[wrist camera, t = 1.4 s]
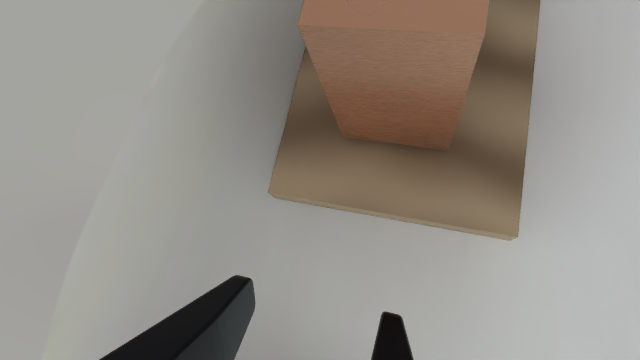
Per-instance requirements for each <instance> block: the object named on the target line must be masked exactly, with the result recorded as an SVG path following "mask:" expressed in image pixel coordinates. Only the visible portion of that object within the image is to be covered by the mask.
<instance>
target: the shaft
mask: <svg viewBox="0 0 640 360" xmlns="http://www.w3.org/2000/svg"><path fill="white" fill-rule="evenodd" d="M488 7H489V0H304V3H303V6H302V10H301V14H300V17H299V21H298V28H299V30H300V33H301V35H302V37H303V40H304V42H305V45H306V47H307V50H308V52H309V55H310V57H311V60H312V62H313V64H314V67H315V69H316V72H317V74H318V77H319V79H320V82H321V84H322V87H323V89H324V92H325V94H326V96H327V99H328V101H329V104H330V106H331V109H332V111H333V114H334V116H335V119H336V121H337V124H338V126H339V128H340V131H341V133H342V136H343V137H346V138H354V139H362V140H370V141H378V142H386V143H393V144H401V145H409V146H417V147H425V148H433V149H441V150H448V149H449V146H450V143H451V140H452V137H453V133H454V130H455V127H456V124H457V121H458V118H459V114H460V111H461V108H462V105H463V102H464V99H465V95H466V92H467V89H468V86H469V83H470V80H471V76H472V73H473V70H474V67H475V64H476V61H477V57H478V54H479V51H480V48H481V45H482V42H483V38H484V35H485V30H486V22H487V15H488Z"/></svg>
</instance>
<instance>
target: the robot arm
mask: <svg viewBox="0 0 640 360" xmlns="http://www.w3.org/2000/svg"><path fill="white" fill-rule="evenodd" d="M254 309H255V295H254V287H253V281H252V280H251V279H250V278H248V277H243V276H239V275H235V276H233V277H231V278H229V279H228V280H226V281H225V282H223V283H221V284H220V285H218V286H217V287H215V288H213V289H212V290H210V291H209V292H207V293H205V294H204V295H202V296H201V297H199V298H197V299H196V300H194V301H193V302H191V303H189V304H188V305H186V306H185V307H183V308H181V309H180V310H178V311H176V312H175V313H173V314H172V315H170V316H168V317H167V318H165V319H164V320H162V321H160V322H159V323H157V324H156V325H154V326H152V327H151V328H149V329H148V330H146V331H144V332H143V333H141V334H140V335H138V336H136V337H135V338H133V339H132V340H130V341H128V342H127V343H125V344H124V345H122V346H120V347H119V348H117V349H116V350H114V351H112V352H111V353H109V354H108V355H106V356H104V357H103V358H101V359H99V360H234V359H235V356H236V354H237V351H238V349H239V346H240V344H241V342H242V339H243V337H244V334H245V332H246V330H247V327H248V325H249V322H250V320H251V317H252V315H253V312H254ZM371 360H414V359H413V356H412V352H411V348H410V345H409V341H408V337H407V334H406V330H405V326H404V323H403V319H402V317H401V316H400V315H397V314H393V313H389V312H383V313H382V315H381V319H380V323H379V327H378V332H377V336H376V340H375V345H374V349H373V353H372V358H371Z"/></svg>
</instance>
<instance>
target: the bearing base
mask: <svg viewBox="0 0 640 360" xmlns="http://www.w3.org/2000/svg"><path fill="white" fill-rule="evenodd" d="M539 9H540V0H489V7H488V15H487V22H486V30H485V35H484V38H483V42H482V45H481V48H480V51H479V54H478V57H477V61H476V64H475V67H474V70H473V73H472V76H471V80H470V83H469V86H468V89H467V92H466V95H465V99H464V102H463V105H462V108H461V111H460V114H459V118H458V121H457V124H456V127H455V130H454V133H453V137H452V140H451V143H450V146H449V149H448V150H441V149H433V148H425V147H417V146H409V145H401V144H393V143H386V142H378V141H370V140H362V139H354V138H346V137H343V136H342V133H341V131H340V128H339V126H338V124H337V121H336V119H335V116H334V114H333V111H332V109H331V106H330V104H329V101H328V99H327V96H326V94H325V92H324V89H323V87H322V84H321V82H320V79H319V77H318V74H317V72H316V69H315V67H314V64H313V62H312V60H311V57H310V55H309V52H308V50H307V47H305V51H304V55H303V59H302V62H301V66H300V70H299V74H298V78H297V82H296V86H295V89H294V93H293V97H292V101H291V105H290V109H289V112H288V116H287V120H286V124H285V128H284V132H283V136H282V139H281V143H280V147H279V151H278V155H277V159H276V163H275V166H274V170H273V174H272V178H271V182H270V186H269V190H268V193H269V194H271V195H272V196H273V197H275V198H278V199H283V200H289V201H295V202H300V203H306V204H311V205H317V206H322V207H328V208H333V209H339V210H344V211H350V212H355V213H361V214H366V215H372V216H378V217H383V218H389V219H394V220H400V221H405V222H411V223H416V224H422V225H427V226H433V227H438V228H444V229H449V230H455V231H461V232H466V233H472V234H477V235H483V236H488V237H494V238H499V239H505V240H512V239H514V238H516V237H518V230H519V219H520V209H521V198H522V188H523V177H524V167H525V156H526V146H527V135H528V125H529V114H530V104H531V93H532V83H533V72H534V62H535V51H536V41H537V30H538V20H539Z"/></svg>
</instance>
